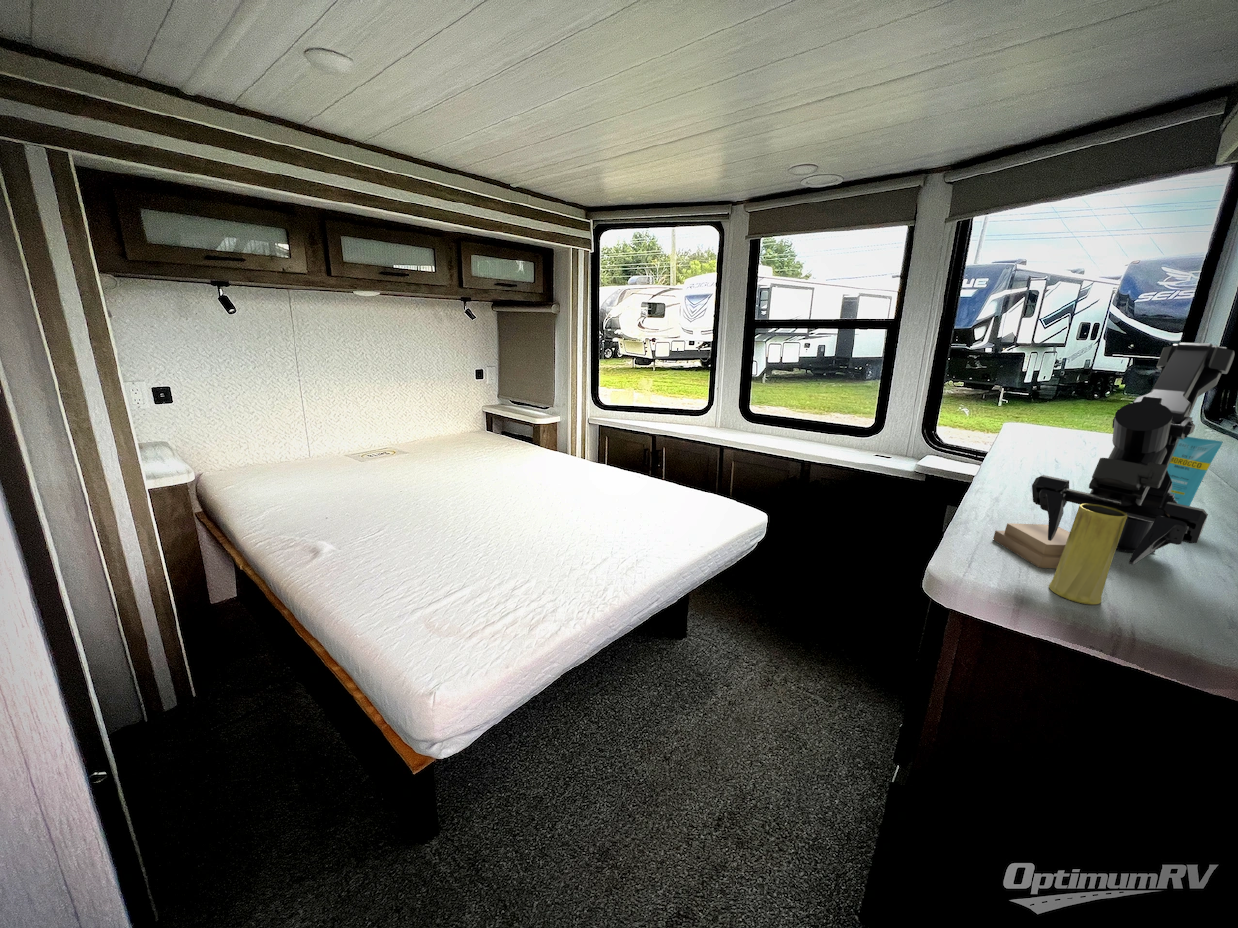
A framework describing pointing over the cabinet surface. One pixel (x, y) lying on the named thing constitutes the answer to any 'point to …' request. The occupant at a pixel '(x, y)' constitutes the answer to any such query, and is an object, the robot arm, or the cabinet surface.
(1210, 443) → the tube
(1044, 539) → the pedestal
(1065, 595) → the vase
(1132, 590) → the cabinet surface
